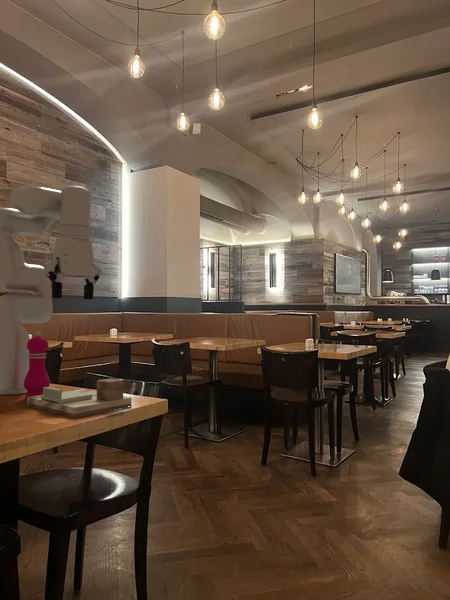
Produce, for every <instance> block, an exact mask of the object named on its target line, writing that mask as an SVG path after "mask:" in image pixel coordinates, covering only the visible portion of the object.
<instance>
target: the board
mask: <svg viewBox="0 0 450 600" xmlns="http://www.w3.org/2000/svg"><path fill="white" fill-rule="evenodd" d="M68 391H69V390H67V391H66V392H68ZM72 391H76V392H81V393H87V394H92V399H87V400H81V401H75V402H69V403H63V404H59V402H55V401H50V400H41V395H39V396H32V397H27V400H26V407H28V408H32V409H37V410H41V411H44V412H47V413H48V412H49V413H53V414H56V415H61V416H65V417H69V418H71V419H77V418H82V417H87V416H92V415H97V414H102V413H106V412H107V411H108V412H111V410H113V411H116V410H115V409H118V410H120V409H119V408H123V409H125V408H124V407H128V406H131V407H132V402H133V401H132V400H133V399H132V397H129V396H124V395H123V399H119V400H113V401H104V400H99V399H97V390H90V389H85V388H82V389H76V390H72ZM128 408H129V407H128ZM108 412H107V413H108Z"/></svg>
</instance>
